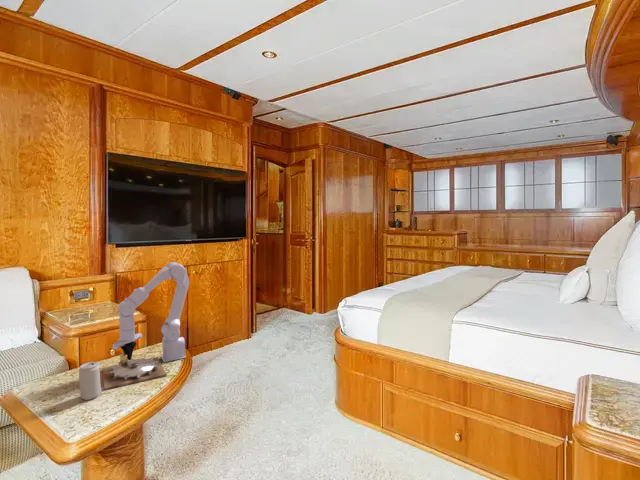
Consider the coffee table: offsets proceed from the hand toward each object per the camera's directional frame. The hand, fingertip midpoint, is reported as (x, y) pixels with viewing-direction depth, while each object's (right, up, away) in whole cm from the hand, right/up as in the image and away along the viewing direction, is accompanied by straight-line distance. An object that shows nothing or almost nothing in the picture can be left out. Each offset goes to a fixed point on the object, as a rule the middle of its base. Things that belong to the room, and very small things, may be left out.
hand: (128, 359), depth 159 cm
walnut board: (+5, -4, -5) cm, 8 cm away
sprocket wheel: (+5, -3, -5) cm, 7 cm away
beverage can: (-1, -6, -24) cm, 25 cm away
